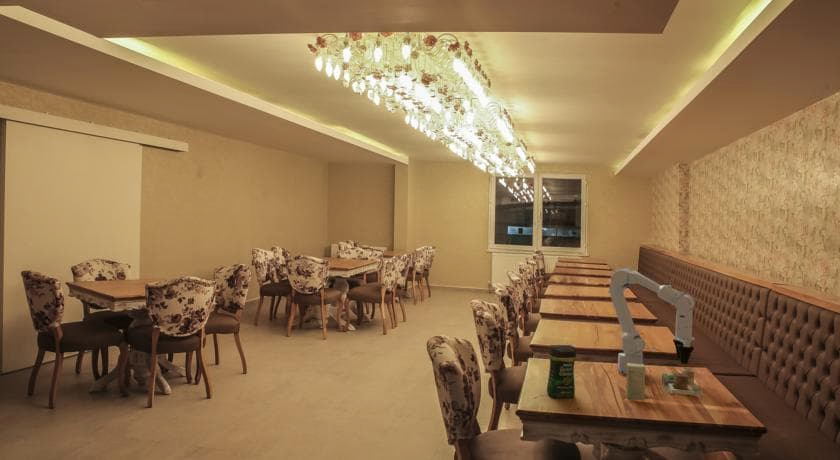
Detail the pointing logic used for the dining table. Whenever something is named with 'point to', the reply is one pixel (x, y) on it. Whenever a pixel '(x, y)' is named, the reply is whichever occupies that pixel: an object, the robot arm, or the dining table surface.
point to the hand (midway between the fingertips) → (682, 360)
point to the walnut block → (680, 381)
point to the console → (667, 379)
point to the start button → (669, 375)
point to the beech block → (689, 375)
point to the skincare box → (635, 381)
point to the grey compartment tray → (690, 390)
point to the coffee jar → (561, 371)
